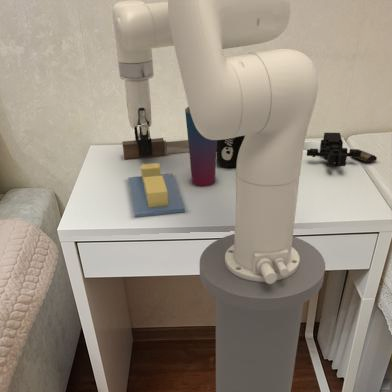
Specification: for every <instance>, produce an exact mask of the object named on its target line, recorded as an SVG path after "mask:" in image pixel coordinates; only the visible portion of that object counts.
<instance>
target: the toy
mask: <svg viewBox="0 0 392 392" xmlns="http://www.w3.org/2000/svg"><path fill="white" fill-rule="evenodd" d="M343 145H344V141H343V139H342V136H341V132H324V133H323V139H321V141H320V145H319V147H320V148H309V149H307V151H306V157H312V158H315V157H324V160H325V161H327V162H326V166H327V167H346V163H347V158H348V157H350V158H354V159H356V158H355V157H360V156H361V151H362V150H361V149H359V150H358V148H350V149H349V151H348V147H344V146H343Z"/></svg>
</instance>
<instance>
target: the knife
mask: <svg viewBox="0 0 392 392" xmlns="http://www.w3.org/2000/svg"><path fill="white" fill-rule="evenodd" d="M121 142H122V143H121V144H122V152H123V158H124V160H132V159H133V160H134V159H144V158H153V157H164V156H166V155H169V154H170V155H171V154H180V153H181V154H182V153H189V144H188V139H183V140H181V139H180V140H173V141H172V140H171V141H167V140H164V137H157V138H151V142H152V154H153V155H152V156H145V157H140V156H139V151H138V142H137V140H135V139H134V140H124V141H121Z"/></svg>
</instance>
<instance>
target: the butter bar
mask: <svg viewBox="0 0 392 392" xmlns="http://www.w3.org/2000/svg"><path fill="white" fill-rule="evenodd" d="M143 178H144V188H145V194H146V198H147V203H148V207H158V206H167V205H168V193H167V189H166V185H165V182H164V179H163V176H162V175H161V176H151V177H143Z"/></svg>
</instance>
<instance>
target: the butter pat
mask: <svg viewBox="0 0 392 392" xmlns="http://www.w3.org/2000/svg"><path fill="white" fill-rule="evenodd" d="M140 171H141V176H142V180H143V182H144V178H143V177H151V176H161V174H162V172H161V171H162V170H161V166H160V163H159V162H155V163H145V164H140Z"/></svg>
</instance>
